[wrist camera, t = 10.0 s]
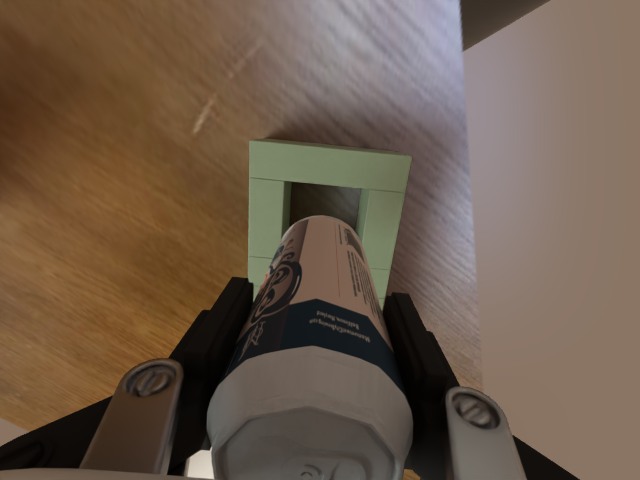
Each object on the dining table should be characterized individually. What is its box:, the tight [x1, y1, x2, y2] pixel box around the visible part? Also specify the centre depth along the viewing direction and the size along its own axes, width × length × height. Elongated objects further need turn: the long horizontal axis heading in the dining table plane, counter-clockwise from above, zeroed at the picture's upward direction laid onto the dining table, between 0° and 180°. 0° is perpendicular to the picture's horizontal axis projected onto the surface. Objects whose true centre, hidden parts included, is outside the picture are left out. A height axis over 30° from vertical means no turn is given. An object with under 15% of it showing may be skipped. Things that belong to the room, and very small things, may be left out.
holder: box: [248, 138, 412, 310], centre depth 26 cm, size 20×11×5 cm, turn 175°
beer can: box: [207, 215, 413, 480], centre depth 12 cm, size 5×5×12 cm
